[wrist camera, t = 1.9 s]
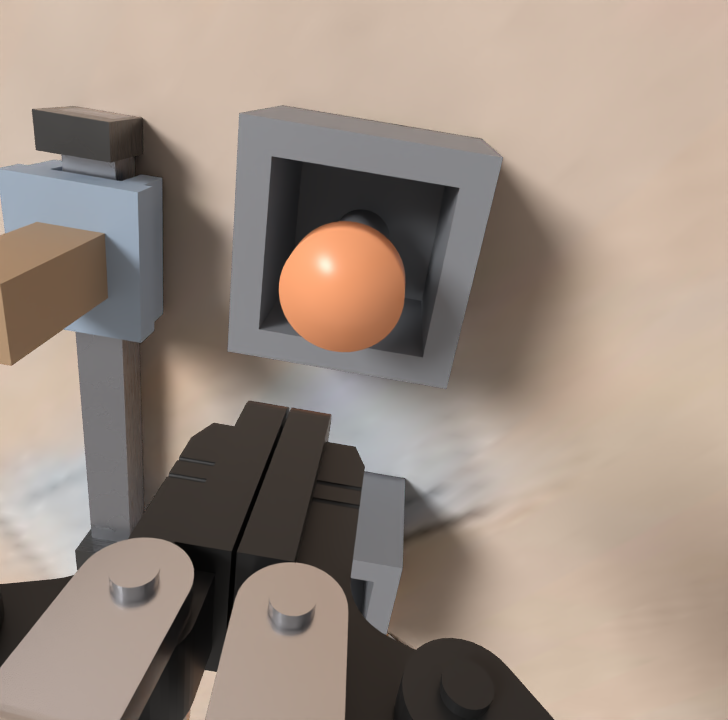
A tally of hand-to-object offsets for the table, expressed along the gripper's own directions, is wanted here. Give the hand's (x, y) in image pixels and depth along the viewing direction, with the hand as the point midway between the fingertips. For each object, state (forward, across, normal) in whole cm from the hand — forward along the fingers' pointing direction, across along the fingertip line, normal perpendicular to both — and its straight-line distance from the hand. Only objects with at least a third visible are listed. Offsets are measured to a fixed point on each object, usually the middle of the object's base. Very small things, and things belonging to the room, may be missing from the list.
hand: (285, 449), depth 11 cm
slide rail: (+19, +12, +10) cm, 25 cm away
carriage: (+19, +12, +3) cm, 23 cm away
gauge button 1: (+16, 0, 0) cm, 16 cm away
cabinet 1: (+19, 0, 0) cm, 19 cm away
